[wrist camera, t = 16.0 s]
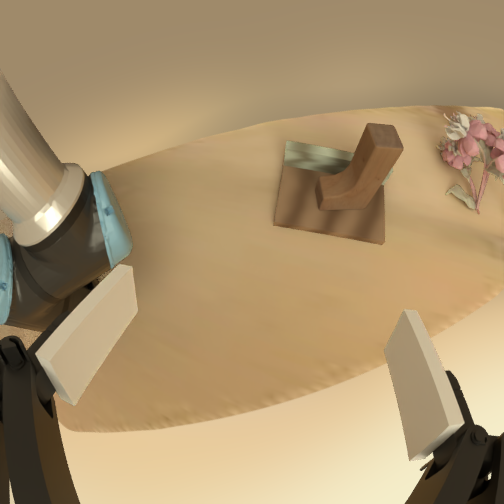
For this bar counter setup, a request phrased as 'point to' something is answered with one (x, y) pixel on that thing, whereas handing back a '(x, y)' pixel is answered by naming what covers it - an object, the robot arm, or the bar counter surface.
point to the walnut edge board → (305, 202)
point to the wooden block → (361, 170)
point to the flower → (473, 152)
